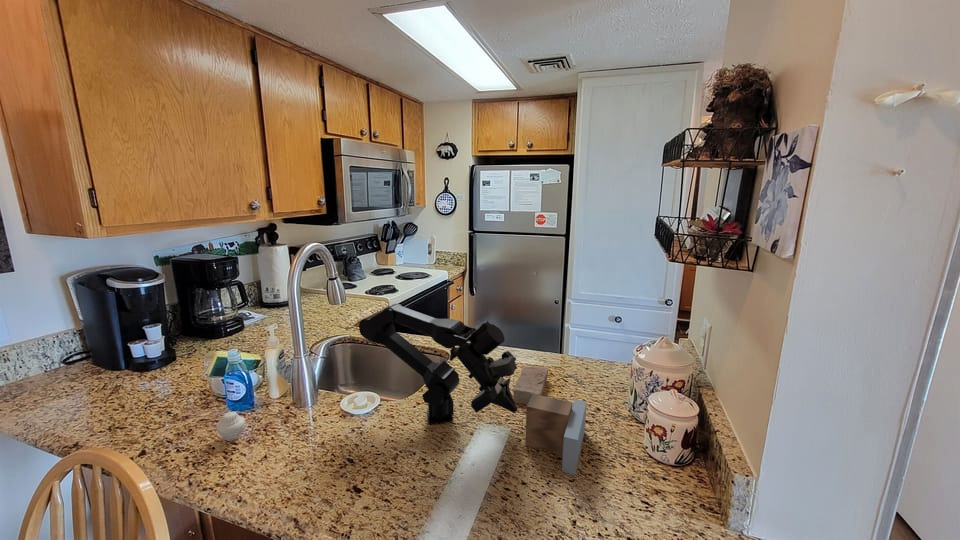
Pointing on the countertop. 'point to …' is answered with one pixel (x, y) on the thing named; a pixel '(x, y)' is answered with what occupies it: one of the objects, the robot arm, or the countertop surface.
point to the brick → (530, 384)
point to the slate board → (574, 437)
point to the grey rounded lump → (231, 426)
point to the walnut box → (547, 423)
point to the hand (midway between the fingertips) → (515, 411)
